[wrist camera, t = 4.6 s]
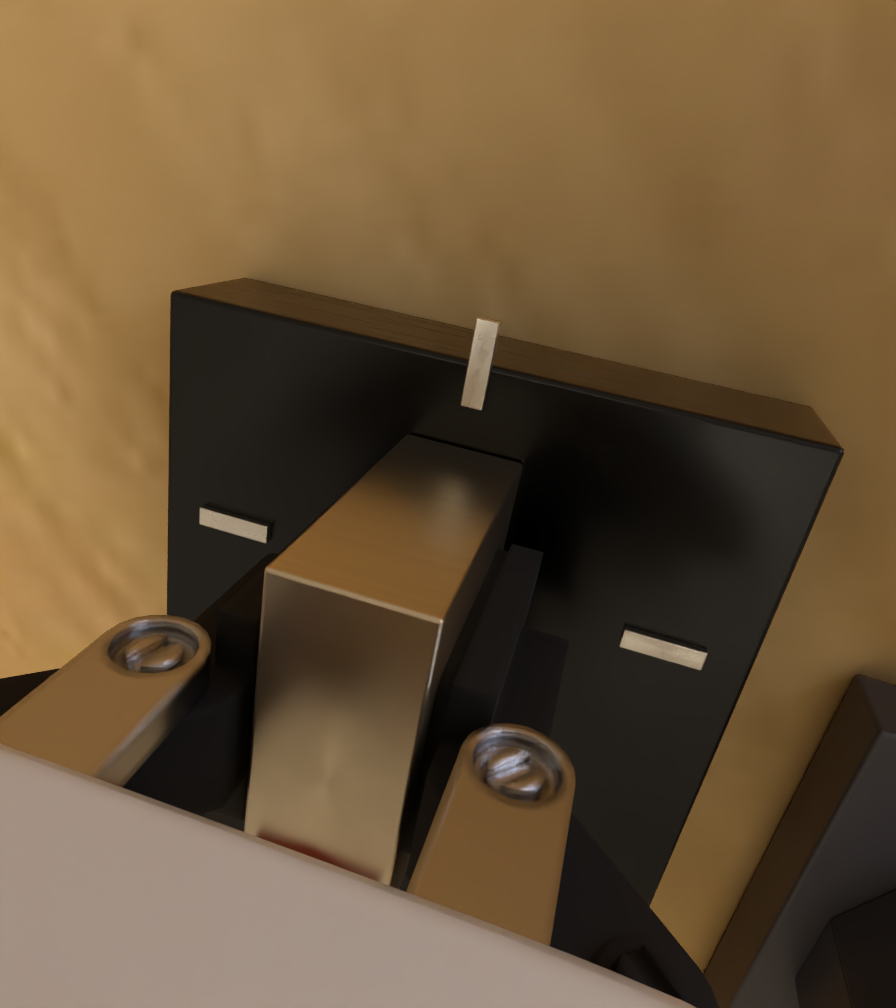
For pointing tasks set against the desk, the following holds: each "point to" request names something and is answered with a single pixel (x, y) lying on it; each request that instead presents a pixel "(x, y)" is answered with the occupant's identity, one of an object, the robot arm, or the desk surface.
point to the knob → (368, 650)
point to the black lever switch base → (516, 511)
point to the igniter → (825, 878)
